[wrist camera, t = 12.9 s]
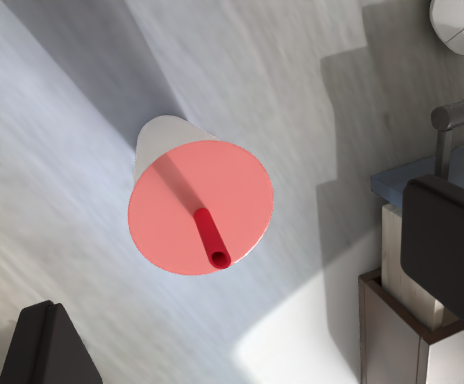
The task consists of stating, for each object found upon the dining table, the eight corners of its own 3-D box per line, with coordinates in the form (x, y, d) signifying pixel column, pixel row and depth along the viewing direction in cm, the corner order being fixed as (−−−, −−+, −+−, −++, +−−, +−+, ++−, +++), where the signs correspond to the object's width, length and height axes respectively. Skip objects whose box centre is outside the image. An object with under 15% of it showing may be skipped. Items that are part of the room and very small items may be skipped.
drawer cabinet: (358, 276, 30) (429, 345, 24) (480, 228, 33) (575, 279, 26) (361, 387, 37) (417, 465, 30) (462, 340, 39) (535, 403, 33)
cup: (99, 158, 20) (94, 299, 10) (154, 76, 19) (213, 133, 9) (179, 203, 23) (244, 352, 12) (230, 131, 22) (346, 226, 11)
